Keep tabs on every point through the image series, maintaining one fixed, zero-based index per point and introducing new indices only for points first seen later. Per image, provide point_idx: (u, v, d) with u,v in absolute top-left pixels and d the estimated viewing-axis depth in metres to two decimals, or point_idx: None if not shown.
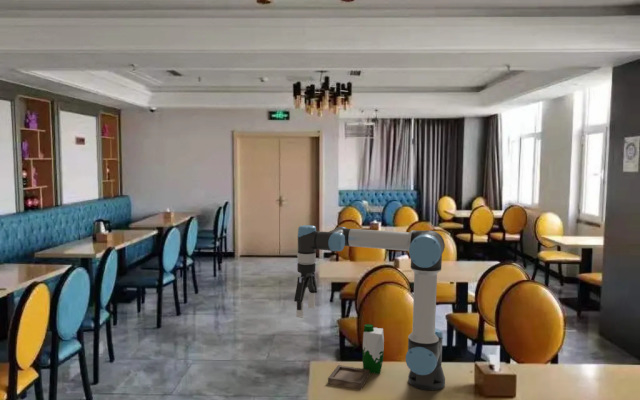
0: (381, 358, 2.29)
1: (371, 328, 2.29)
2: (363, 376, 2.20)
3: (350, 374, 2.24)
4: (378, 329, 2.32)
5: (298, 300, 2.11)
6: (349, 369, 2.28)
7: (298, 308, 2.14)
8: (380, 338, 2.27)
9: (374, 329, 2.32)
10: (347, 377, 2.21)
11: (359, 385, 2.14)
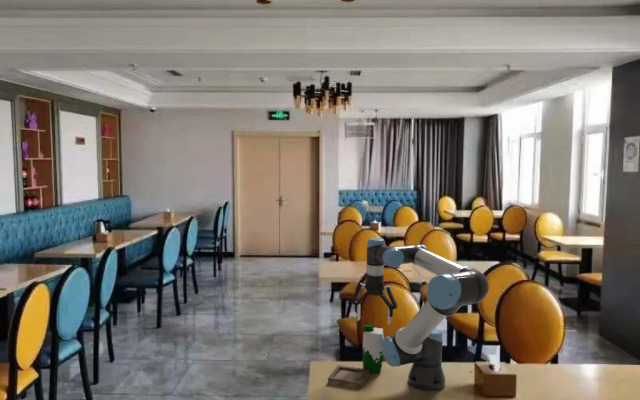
0: (381, 358, 2.29)
1: (371, 328, 2.29)
2: (363, 376, 2.20)
3: (350, 374, 2.24)
4: (378, 329, 2.32)
5: None
6: (349, 369, 2.28)
7: None
8: (380, 338, 2.27)
9: (374, 329, 2.32)
10: (347, 377, 2.21)
11: (359, 385, 2.14)
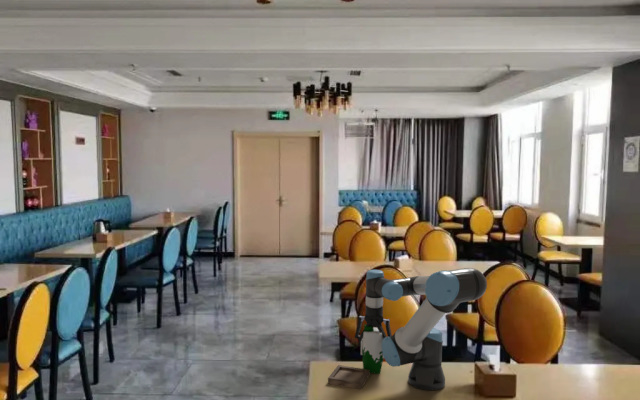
0: (381, 358, 2.29)
1: (371, 328, 2.29)
2: (363, 376, 2.20)
3: (350, 374, 2.24)
4: None
5: None
6: (349, 369, 2.28)
7: None
8: (380, 338, 2.27)
9: (374, 329, 2.32)
10: (347, 377, 2.21)
11: (359, 385, 2.14)
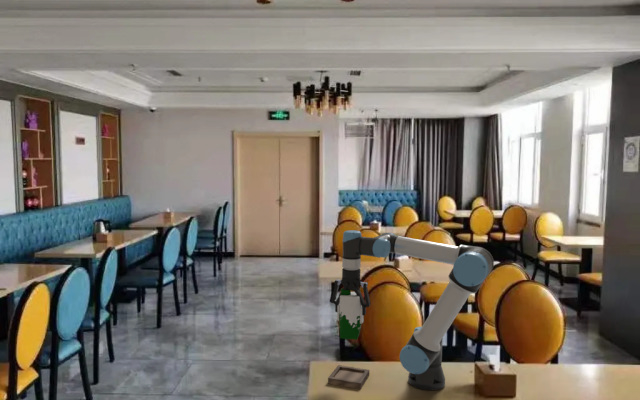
0: (358, 323, 2.17)
1: (348, 292, 2.18)
2: (363, 376, 2.20)
3: (350, 374, 2.24)
4: None
5: None
6: (349, 369, 2.28)
7: None
8: (357, 302, 2.15)
9: (351, 293, 2.20)
10: (347, 377, 2.21)
11: (359, 385, 2.14)
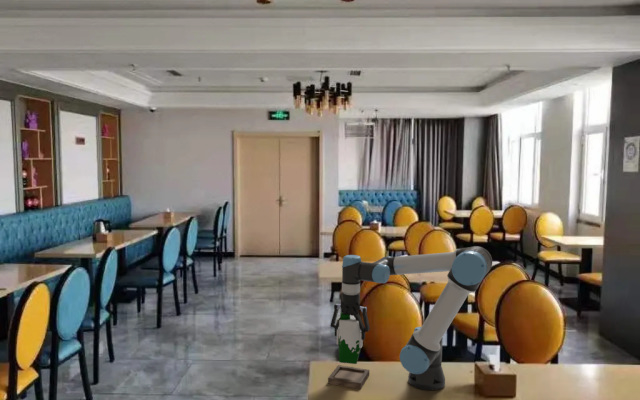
0: (358, 347, 2.18)
1: (347, 316, 2.19)
2: (363, 376, 2.20)
3: (350, 374, 2.24)
4: None
5: None
6: (349, 369, 2.28)
7: None
8: (357, 327, 2.16)
9: (351, 317, 2.21)
10: (347, 377, 2.21)
11: (359, 385, 2.14)
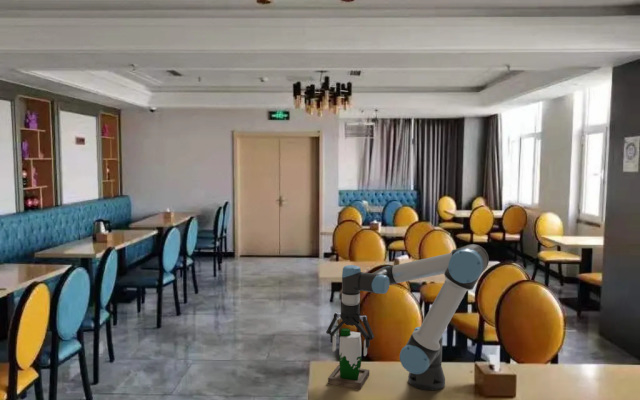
0: (358, 363, 2.18)
1: (348, 332, 2.19)
2: (363, 376, 2.20)
3: None
4: (355, 333, 2.22)
5: None
6: None
7: None
8: (357, 343, 2.16)
9: (351, 333, 2.21)
10: None
11: (359, 385, 2.14)
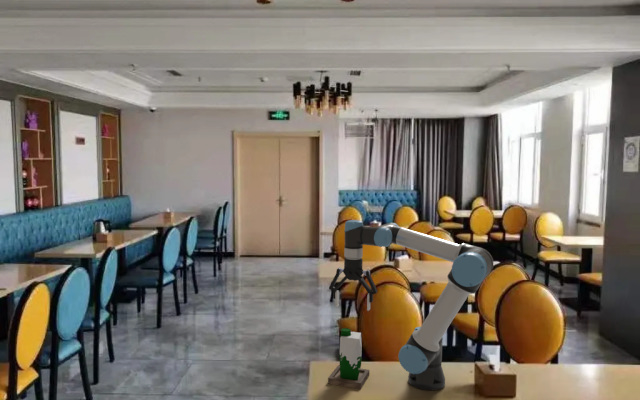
0: (359, 363, 2.19)
1: (348, 332, 2.19)
2: (363, 376, 2.20)
3: None
4: (356, 333, 2.22)
5: None
6: None
7: None
8: (358, 343, 2.17)
9: (351, 333, 2.21)
10: None
11: (359, 385, 2.14)
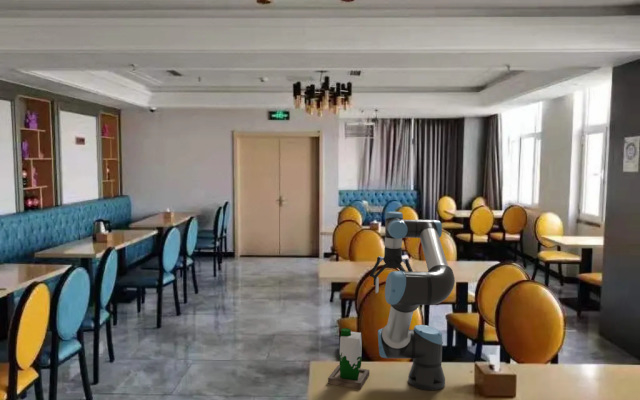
0: (359, 363, 2.19)
1: (348, 332, 2.19)
2: (363, 376, 2.20)
3: None
4: (356, 333, 2.22)
5: None
6: None
7: None
8: (358, 343, 2.17)
9: (351, 333, 2.21)
10: None
11: (359, 385, 2.14)
